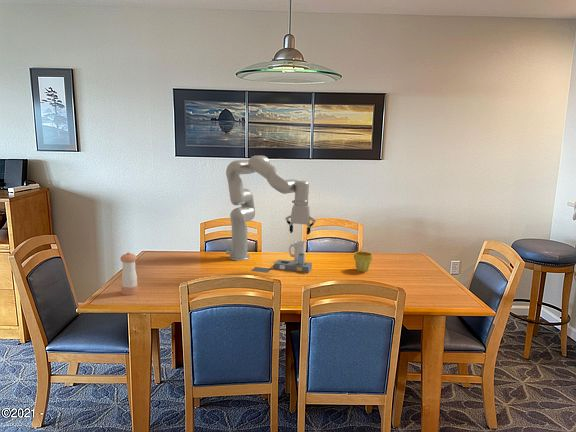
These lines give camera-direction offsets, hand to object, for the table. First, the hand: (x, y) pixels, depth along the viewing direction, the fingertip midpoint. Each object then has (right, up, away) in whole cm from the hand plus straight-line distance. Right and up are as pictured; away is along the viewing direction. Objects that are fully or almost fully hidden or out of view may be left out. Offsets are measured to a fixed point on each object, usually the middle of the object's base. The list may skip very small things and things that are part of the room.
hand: (299, 233), depth 234 cm
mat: (-22, -21, 0) cm, 30 cm away
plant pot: (+36, -22, +5) cm, 42 cm away
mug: (-1, -18, +20) cm, 27 cm away
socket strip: (-4, -21, +3) cm, 21 cm away
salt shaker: (-80, -26, -40) cm, 93 cm away
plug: (+1, -21, +2) cm, 21 cm away
